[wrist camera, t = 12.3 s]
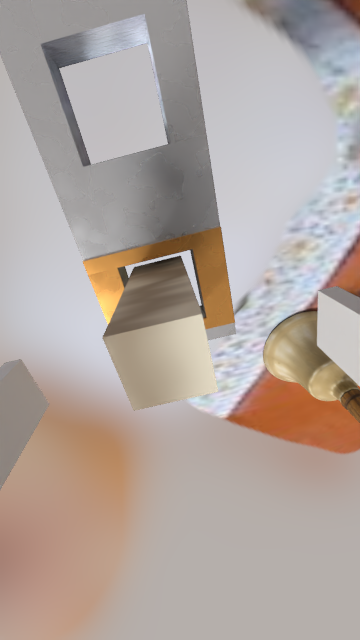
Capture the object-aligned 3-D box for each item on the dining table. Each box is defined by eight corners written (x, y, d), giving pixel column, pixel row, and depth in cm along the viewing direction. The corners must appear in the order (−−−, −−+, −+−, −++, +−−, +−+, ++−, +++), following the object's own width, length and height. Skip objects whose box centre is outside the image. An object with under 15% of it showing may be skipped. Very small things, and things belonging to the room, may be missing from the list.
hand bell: (352, 355, 26) (591, 544, 11) (281, 391, 27) (412, 598, 13) (328, 294, 23) (618, 449, 8) (248, 339, 24) (377, 536, 10)
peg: (180, 255, 20) (202, 314, 9) (190, 299, 22) (218, 391, 11) (134, 267, 20) (102, 337, 10) (147, 309, 22) (133, 410, 11)
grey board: (174, -22, 14) (176, -70, 11) (228, 321, 23) (236, 334, 21) (5, 28, 14) (-27, -9, 12) (127, 345, 24) (122, 361, 21)
